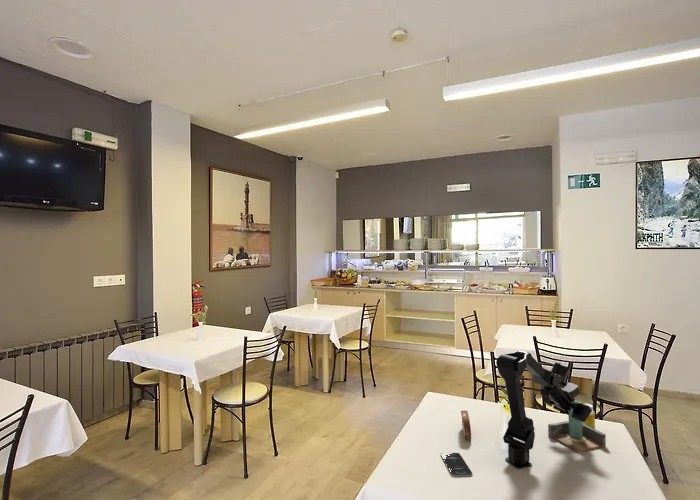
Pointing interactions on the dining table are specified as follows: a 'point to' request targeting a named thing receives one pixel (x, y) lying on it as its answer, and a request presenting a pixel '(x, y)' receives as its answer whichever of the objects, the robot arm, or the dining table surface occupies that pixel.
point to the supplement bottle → (590, 418)
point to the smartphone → (457, 465)
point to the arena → (587, 442)
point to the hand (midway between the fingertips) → (578, 418)
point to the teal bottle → (575, 425)
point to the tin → (466, 425)
